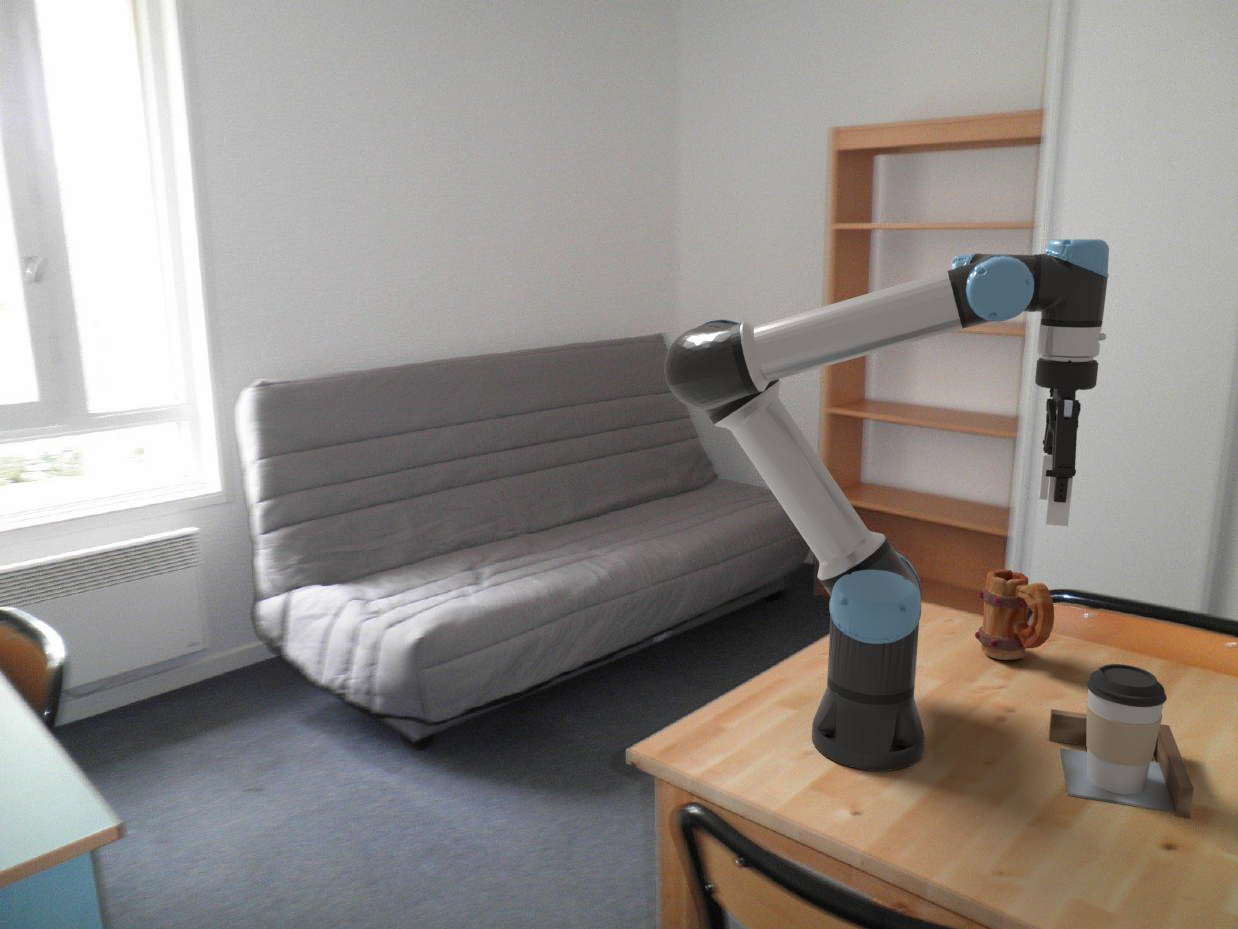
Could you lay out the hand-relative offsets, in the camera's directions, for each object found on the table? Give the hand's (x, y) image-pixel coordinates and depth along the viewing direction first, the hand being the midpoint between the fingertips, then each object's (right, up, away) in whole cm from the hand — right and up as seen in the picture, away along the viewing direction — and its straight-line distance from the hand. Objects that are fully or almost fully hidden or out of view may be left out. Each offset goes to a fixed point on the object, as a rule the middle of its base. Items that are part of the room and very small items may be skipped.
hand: (1052, 511), depth 137 cm
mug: (+5, -26, +28) cm, 39 cm away
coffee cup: (+4, -34, -9) cm, 36 cm away
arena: (+5, -34, -7) cm, 35 cm away
